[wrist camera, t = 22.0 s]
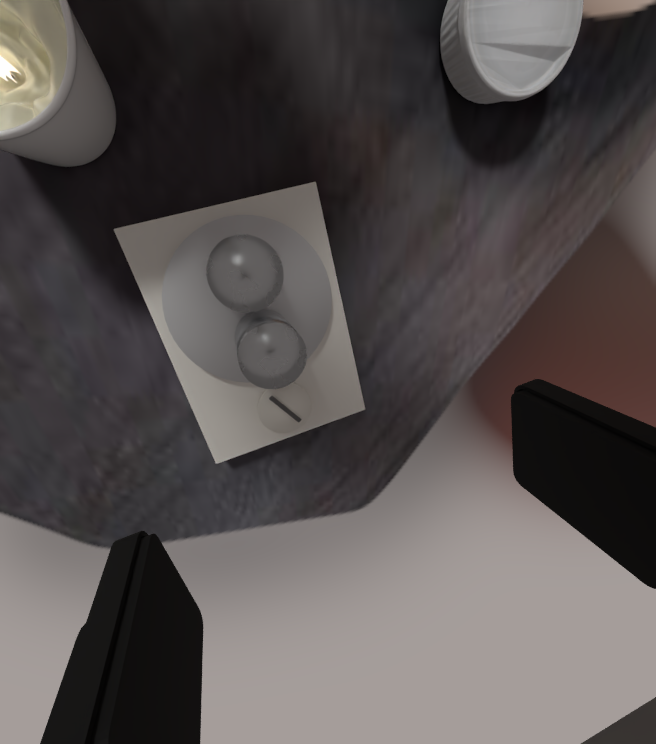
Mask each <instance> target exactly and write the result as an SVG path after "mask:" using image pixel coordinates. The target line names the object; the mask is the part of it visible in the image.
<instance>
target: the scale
mask: <svg viewBox="0 0 656 744" xmlns="http://www.w3.org/2000/svg"><path fill="white" fill-rule="evenodd" d="M114 232H115V234H116V236H117V238H118V241H119V243H120V245H121V248H122V250H123V252H124V254H125V257H126V259H127V261H128V264H129V266H130V268H131V270H132V273H133V275H134V277H135V280H136V282H137V284H138V286H139V289H140V291H141V293H142V296H143V298H144V300H145V302H146V305H147V307H148V309H149V311H150V314H151V316H152V318H153V321H154V323H155V325H156V327H157V330H158V332H159V334H160V337H161V339H162V341H163V343H164V346H165V348H166V350H167V353H168V355H169V357H170V359H171V362H172V364H173V366H174V369H175V371H176V373H177V375H178V378H179V380H180V382H181V385H182V387H183V389H184V391H185V394H186V396H187V398H188V401H189V403H190V405H191V407H192V410H193V412H194V414H195V417H196V419H197V421H198V423H199V426H200V428H201V430H202V433H203V435H204V437H205V439H206V442H207V444H208V446H209V449H210V451H211V453H212V455H213V458H214V460H215V462H216V464H218V463H221V462H223V461H226V460H229V459H231V458H234V457H237V456H240V455H242V454H245V453H248V452H251V451H253V450H256V449H259V448H262V447H264V446H267V445H270V444H272V443H275V442H278V441H281V440H283V439H286V438H289V437H292V436H294V435H297V434H300V433H303V432H305V431H308V430H311V429H313V428H316V427H319V426H322V425H324V424H327V423H330V422H333V421H335V420H338V419H341V418H344V417H346V416H349V415H352V414H354V413H357V412H360V411H363V410H365V406H364V401H363V396H362V392H361V387H360V383H359V378H358V373H357V369H356V364H355V360H354V355H353V350H352V346H351V341H350V337H349V332H348V327H347V323H346V318H345V314H344V309H343V304H342V300H341V295H340V291H339V286H338V282H337V277H336V272H335V268H334V263H333V259H332V254H331V249H330V245H329V240H328V236H327V231H326V226H325V222H324V217H323V213H322V208H321V203H320V199H319V194H318V190H317V185H316V182H312V183H308V184H303V185H299V186H295V187H290V188H286V189H282V190H278V191H273V192H269V193H265V194H261V195H256V196H252V197H248V198H244V199H239V200H235V201H231V202H227V203H222V204H218V205H214V206H210V207H205V208H201V209H197V210H193V211H188V212H184V213H180V214H176V215H171V216H167V217H163V218H159V219H154V220H150V221H146V222H142V223H137V224H133V225H129V226H124V227H120V228H116V229H114ZM242 234H245V235H252V236H256V237H258V238H260V239H262V240H264V241H266V242H267V243H268V244H269V245H270V246H272V247H273V249H274V250H275V251H276V252H277V254H278V256H279V258H280V260H281V262H282V266H283V271H284V280H283V285H282V288H281V291H280V293H279V295H278V296H277V298H276V299H275V300H274V302H272V303H271V304H270V305H269V306H267V307H266V308H264V309H271V310H274V311H276V312H278V313H280V314H281V315H282V316H284V317H285V319H286V320H287V321H288V322H289V323H290V324H291V325H292V327H293V328H294V329H295V330H296V331H297V332H298V334H299V335H300V336H301V337H302V339H303V341H304V343H305V345H306V349H307V361H306V365H305V368H304V370H303V372H302V373H301V375H300V376H299V377H298V378H297V379H296V380H295V381H294V382H292V383H291V384H289V385H287V386H285V387H282V388H278V389H264V388H260V387H258V386H256V385H254V384H252V383H251V382H249V381H248V380H247V379H246V378H245V376H244V375H243V373H242V372H241V369H240V367H239V363H238V357H237V351H236V345H235V330H236V327H237V324H238V323H239V321H240V320H241V319H242V317H244V316H245V315H246V314H247V313H245V312H238V311H235V310H232V309H230V308H228V307H226V306H224V305H223V304H222V303H221V302H220V301H219V300H218V299H217V298H216V297H215V296H214V294H213V293H212V291H211V289H210V287H209V284H208V281H207V275H206V268H207V262H208V259H209V255H210V253H211V251H212V249H213V248H214V247H215V245H216V244H218V243H219V242H220V241H221V240H223V239H225V238H228V237H231V236H234V235H242Z"/></svg>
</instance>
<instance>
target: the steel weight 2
mask: <svg viewBox="0 0 656 744" xmlns="http://www.w3.org/2000/svg"><path fill="white" fill-rule="evenodd" d="M235 345H236V351H237V357H238V363H239V367H240V369H241V372H242V373H243V375H244V376H245V378H246V379H247V380H248V381H249V382H251V383H252V384H254V385H256V386H258V387H260V388H264V389H278V388H282V387H285V386H287V385H289V384H291V383H292V382H294V381H295V380H296V379H297V378H298V377H299V376H300V375H301V373H302V372H303V370H304V368H305V365H306V361H307V349H306V345H305V343H304V341H303V339H302V337H301V336H300V335H299V334H298V332H297V331H296V330H295V329H294V328H293V327H292V325H291V324H290V323H289V322H288V321H287V320H286V319H285V317H284V316H282V315H281V314H280V313H278V312H276V311H274V310H271V309H262V310H259V311H256V312H249V313H247V314H246V315H245V316H244V317H242V319H241V320H240V321H239V323H238V324H237V327H236V330H235Z"/></svg>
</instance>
